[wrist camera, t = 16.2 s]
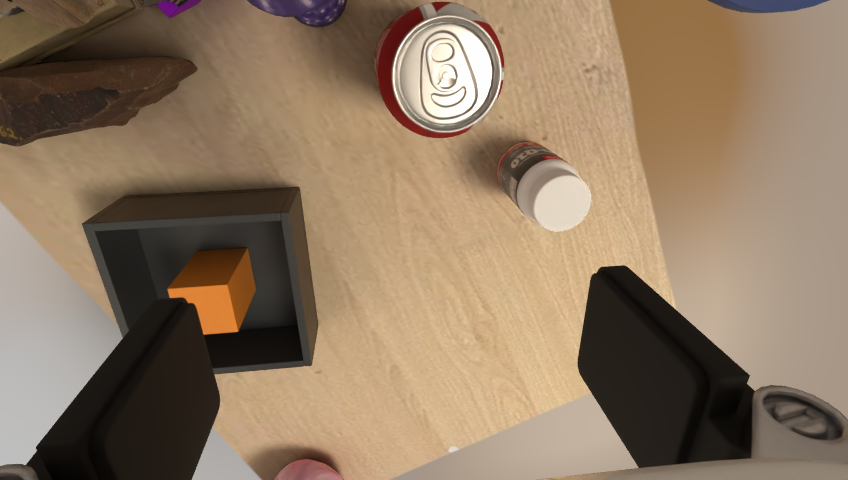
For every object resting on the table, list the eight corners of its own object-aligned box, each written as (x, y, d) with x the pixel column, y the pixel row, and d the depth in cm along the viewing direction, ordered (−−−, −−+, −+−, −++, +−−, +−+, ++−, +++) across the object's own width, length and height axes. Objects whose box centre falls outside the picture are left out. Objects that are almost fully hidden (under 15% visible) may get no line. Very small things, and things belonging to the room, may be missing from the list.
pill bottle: (547, 134, 36) (595, 160, 29) (554, 188, 38) (600, 226, 31) (491, 149, 36) (524, 179, 29) (500, 202, 38) (533, 244, 31)
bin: (299, 187, 36) (289, 212, 31) (318, 325, 41) (311, 366, 36) (123, 195, 34) (81, 223, 29) (166, 337, 40) (138, 381, 35)
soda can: (386, 119, 34) (395, 158, 23) (364, 22, 31) (363, 15, 21) (472, 99, 34) (521, 129, 24) (458, 2, 32) (506, -15, 21)
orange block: (247, 247, 37) (227, 284, 31) (256, 290, 38) (238, 332, 33) (196, 250, 36) (166, 288, 31) (207, 293, 38) (181, 336, 32)
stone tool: (226, 116, 32) (31, 156, 33) (210, 47, 31) (11, 90, 32) (178, 104, 26) (-57, 153, 27) (156, 19, 25) (-84, 73, 26)
